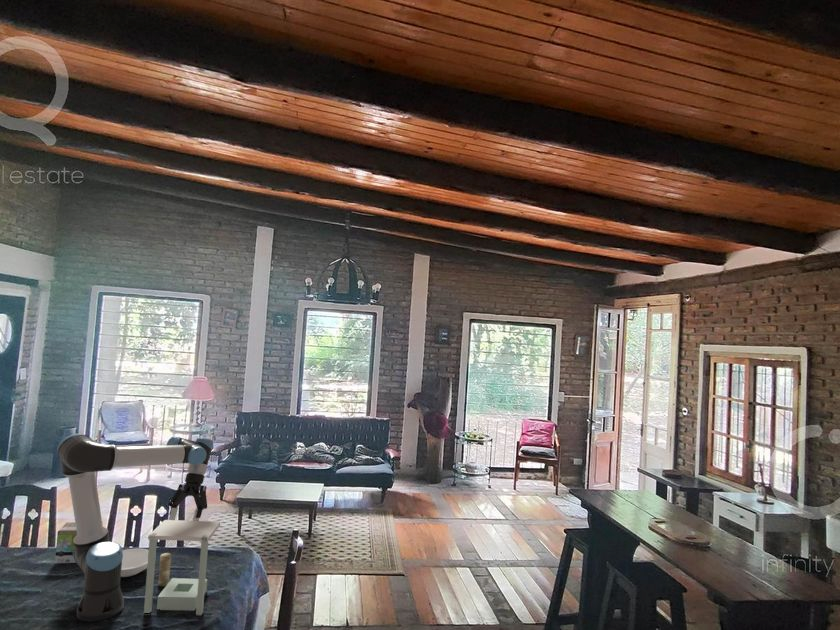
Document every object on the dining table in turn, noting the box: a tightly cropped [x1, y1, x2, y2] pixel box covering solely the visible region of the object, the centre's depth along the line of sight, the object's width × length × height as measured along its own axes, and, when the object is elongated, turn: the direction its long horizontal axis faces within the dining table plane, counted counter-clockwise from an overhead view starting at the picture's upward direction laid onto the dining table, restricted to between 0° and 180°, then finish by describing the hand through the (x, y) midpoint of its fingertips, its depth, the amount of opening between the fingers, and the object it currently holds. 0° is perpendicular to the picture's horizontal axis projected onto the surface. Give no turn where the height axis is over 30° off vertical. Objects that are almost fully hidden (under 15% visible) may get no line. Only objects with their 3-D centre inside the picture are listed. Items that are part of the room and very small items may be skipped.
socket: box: [143, 519, 221, 616], centre depth 202 cm, size 22×17×30 cm
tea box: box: [54, 521, 103, 565], centre depth 230 cm, size 15×10×15 cm
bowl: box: [121, 548, 149, 578], centre depth 220 cm, size 20×20×6 cm
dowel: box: [157, 552, 172, 587], centre depth 214 cm, size 4×4×12 cm
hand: (182, 525), depth 219 cm, fingers open, 13 cm apart
